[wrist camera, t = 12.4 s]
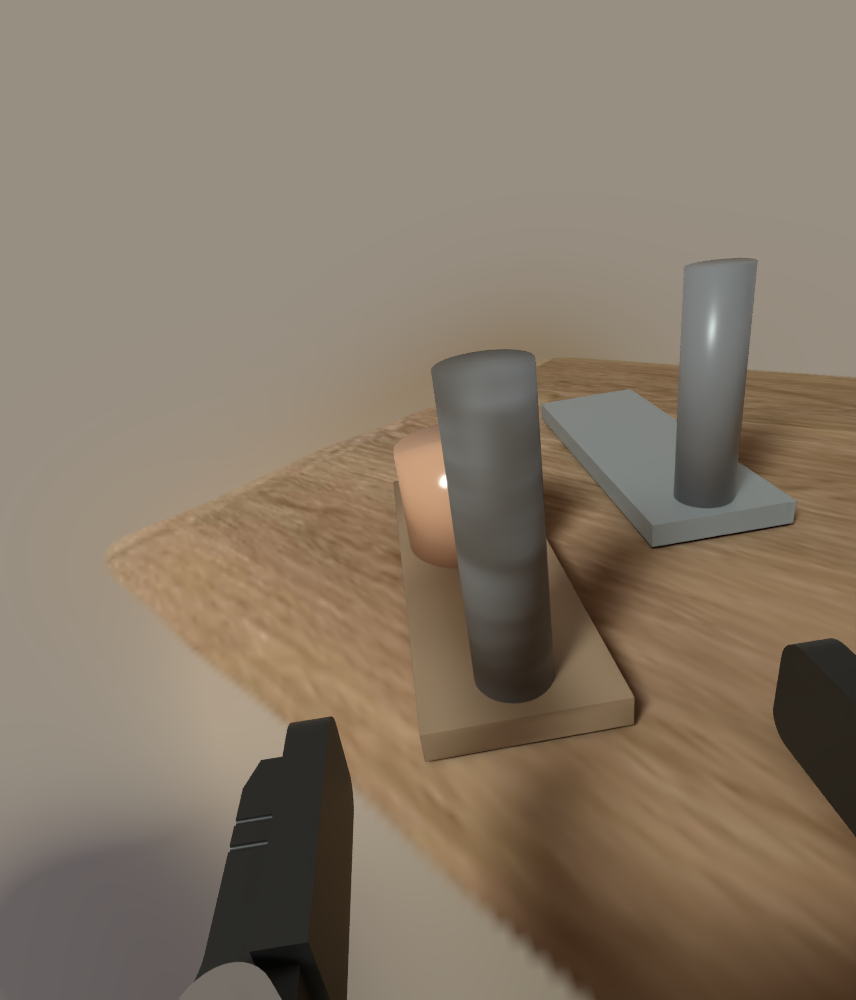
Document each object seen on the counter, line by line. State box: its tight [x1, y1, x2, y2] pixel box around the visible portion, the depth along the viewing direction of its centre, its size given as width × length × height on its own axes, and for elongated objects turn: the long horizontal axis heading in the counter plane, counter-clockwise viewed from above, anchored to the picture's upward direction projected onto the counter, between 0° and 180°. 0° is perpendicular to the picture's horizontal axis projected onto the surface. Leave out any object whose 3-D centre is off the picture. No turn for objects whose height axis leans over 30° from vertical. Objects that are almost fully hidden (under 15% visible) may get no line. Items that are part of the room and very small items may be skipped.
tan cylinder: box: [393, 424, 459, 569], centre depth 29 cm, size 6×6×5 cm
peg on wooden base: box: [393, 349, 634, 762], centre depth 26 cm, size 7×20×12 cm, turn 6°
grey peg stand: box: [541, 258, 796, 547], centre depth 35 cm, size 7×20×12 cm, turn 6°
